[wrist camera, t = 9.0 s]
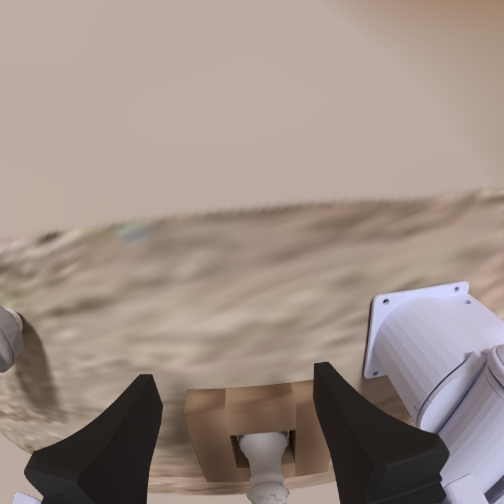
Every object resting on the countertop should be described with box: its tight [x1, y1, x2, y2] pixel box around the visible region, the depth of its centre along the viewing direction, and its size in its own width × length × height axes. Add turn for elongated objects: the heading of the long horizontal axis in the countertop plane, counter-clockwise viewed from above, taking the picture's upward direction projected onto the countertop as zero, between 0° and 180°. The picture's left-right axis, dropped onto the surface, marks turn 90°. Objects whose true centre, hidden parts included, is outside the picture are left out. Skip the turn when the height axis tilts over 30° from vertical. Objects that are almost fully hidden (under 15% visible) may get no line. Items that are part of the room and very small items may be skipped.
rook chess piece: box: [238, 431, 290, 504], centre depth 21 cm, size 4×4×8 cm
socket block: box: [183, 380, 330, 482], centre depth 25 cm, size 12×11×3 cm
